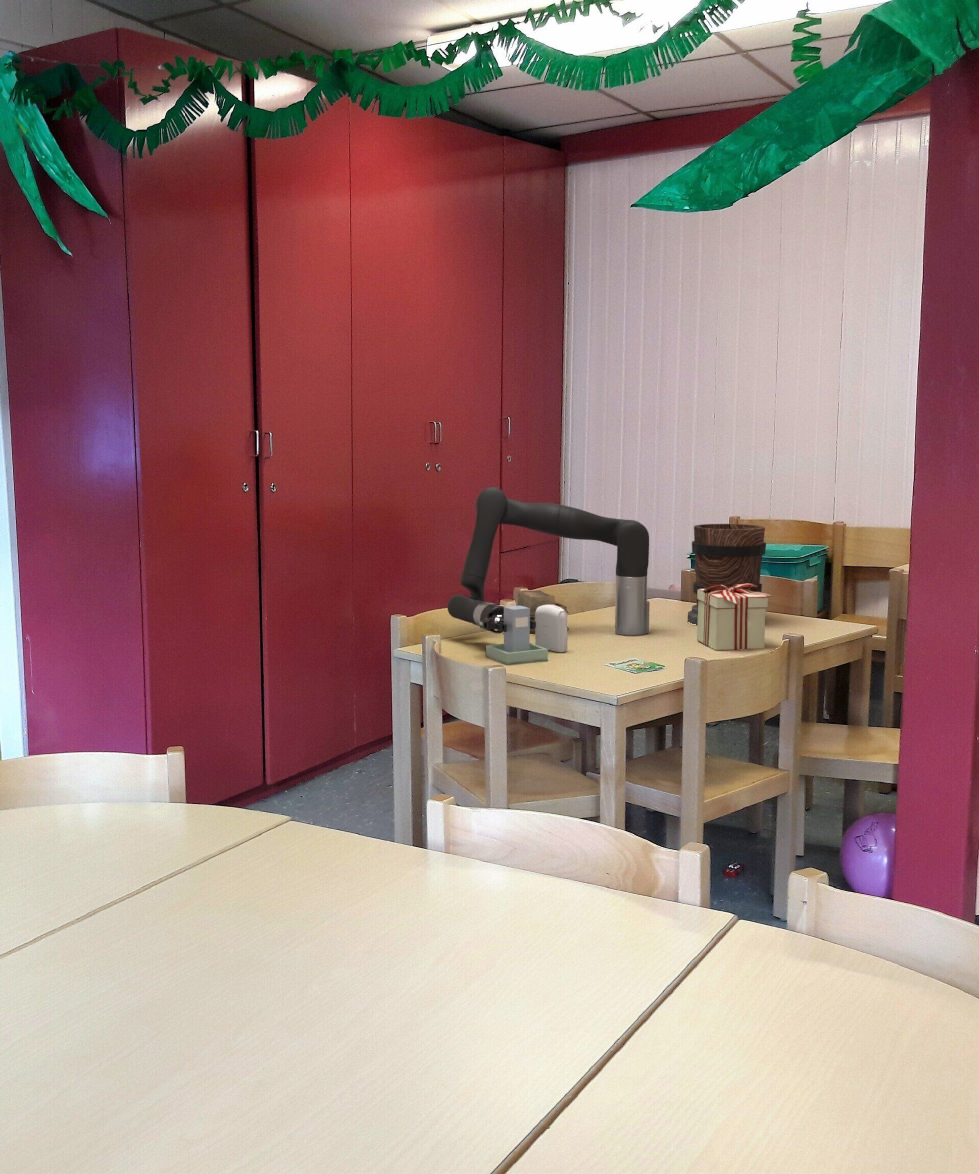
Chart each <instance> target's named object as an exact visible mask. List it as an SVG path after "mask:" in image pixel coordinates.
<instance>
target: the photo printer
mask: <svg viewBox="0 0 979 1174" xmlns="http://www.w3.org/2000/svg"><path fill="white" fill-rule="evenodd" d="M535 622H536V627H535V635H534V638H535V639H534V640H535V641H534V643H535V644H534V645H537V646H540V647H543V648H546V649H548V651H551V652H556V653H565V652H567V650H568V631H567V626H568V613H566V611H565V610H564V609H562V608H560V607H558V606H555V605H542V606H539V607H538V608H537V609H536V612H535Z"/></svg>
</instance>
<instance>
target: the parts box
mask: <svg viewBox="0 0 979 1174" xmlns="http://www.w3.org/2000/svg"><path fill="white" fill-rule="evenodd" d="M503 607H504V623H506V624H507V632H503V644H504V651H505V652H508V653H511V652H521V651H530V643H531V641H530V636H531V635H530V608H527V607H524V606H518V605H511V606H503Z"/></svg>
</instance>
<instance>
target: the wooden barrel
mask: <svg viewBox="0 0 979 1174" xmlns="http://www.w3.org/2000/svg"><path fill="white" fill-rule="evenodd" d="M765 531H766V527H765V526H763V525H756V524H746V523H743V524H742V523H703V524H697V525H694V526H693V537H694V538H693V539H694V540H692V541H691V552H692V553H693V554H694V565H695V566H694V569H695V570H694V571H695V581H694V582H693V583H692V584H693V585H692V587H693V588H692V589H693V591H692V592H693V594H695V597H696V599H695V600H696V601H695V602H696V604H694V605H692V606H691V610H690V611H688V612H687V623H688V622H690V623H692V624H696V625H698V600H697V592H698V589H706V588H708V587H709V586H714V585H724V586H726V587H729V588H732V587H734V586H736V585H737V584H746V583H749V584H753V585H757V586H758V587H750V590H752V591H756V592H762V590H763V589H762V588H763V584H762V583H760V582H761V581H760V580H761V572H762V570H761V569H762V561H763V555H765V554H766V550H767V549H766V548H767V542H764V541H765V540H764V539H765ZM765 624H766V625H767V618H766V619H765Z"/></svg>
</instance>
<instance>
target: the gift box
mask: <svg viewBox="0 0 979 1174" xmlns="http://www.w3.org/2000/svg"><path fill="white" fill-rule="evenodd" d="M750 587H758V586H757V585H753V584H749V583H746V584H737V585H736V586H734V587H732V588H729V587H726V586H724V585H714V586H709V587H708V588H706V589H698V592H697V600H698V625H697V626H696V627H697V628H696V640H697V641H699V642H700V643H702V644H703V645H705V644H706V645H705V646H707V645H708V646H707V647H709V646H710V647H709V648H711V649H712V648H713V650H714V649H715V650H714V651H737V650H736V649H748V650H761V649H760V648H764V649H765V640H766V639H765V638H766V637H765V634H766V626H765V619H766V620H767V614H766V613H767V609H768V606H769V598H774V597H775V596H773V595H771V594H769V593H765V592H762V591H761V592H756V591H752V590H750ZM731 649H732V650H731Z"/></svg>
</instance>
